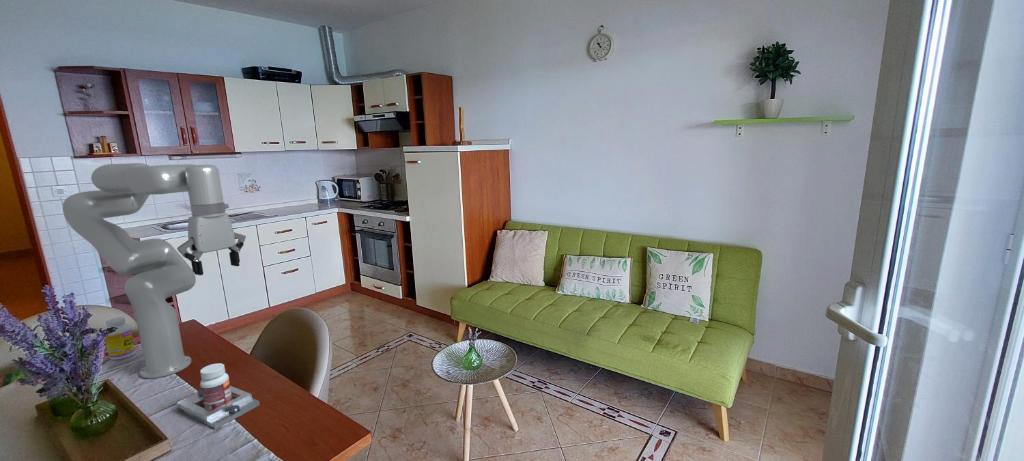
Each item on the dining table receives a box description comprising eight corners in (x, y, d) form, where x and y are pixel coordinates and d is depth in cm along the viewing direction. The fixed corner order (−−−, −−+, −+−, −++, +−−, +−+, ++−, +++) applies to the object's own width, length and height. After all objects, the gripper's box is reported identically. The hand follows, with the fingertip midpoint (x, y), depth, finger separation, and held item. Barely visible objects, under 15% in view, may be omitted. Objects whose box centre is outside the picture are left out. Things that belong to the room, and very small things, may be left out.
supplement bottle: (128, 359, 141) (120, 322, 138) (104, 362, 139) (96, 325, 137) (140, 350, 147) (133, 315, 145) (117, 352, 146) (110, 317, 143)
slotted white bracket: (178, 411, 111) (176, 399, 111) (222, 389, 121) (220, 379, 120) (215, 429, 104) (213, 417, 103) (259, 405, 113) (257, 394, 113)
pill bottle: (233, 409, 112) (226, 369, 109) (204, 417, 108) (197, 376, 106) (233, 398, 117) (226, 359, 114) (205, 406, 113) (198, 366, 111)
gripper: (232, 205, 127) (240, 261, 130) (164, 214, 112) (175, 276, 115) (247, 206, 124) (256, 263, 127) (179, 215, 109) (191, 280, 112)
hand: (217, 270), depth 121 cm, fingers open, 9 cm apart
